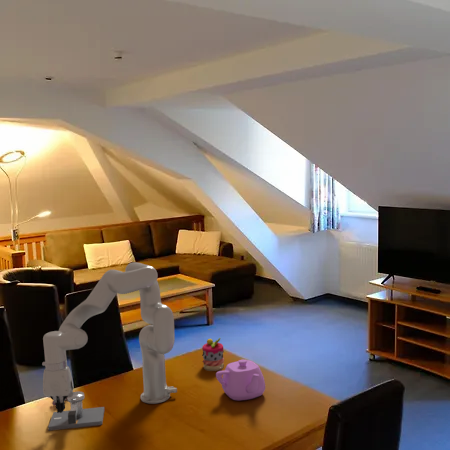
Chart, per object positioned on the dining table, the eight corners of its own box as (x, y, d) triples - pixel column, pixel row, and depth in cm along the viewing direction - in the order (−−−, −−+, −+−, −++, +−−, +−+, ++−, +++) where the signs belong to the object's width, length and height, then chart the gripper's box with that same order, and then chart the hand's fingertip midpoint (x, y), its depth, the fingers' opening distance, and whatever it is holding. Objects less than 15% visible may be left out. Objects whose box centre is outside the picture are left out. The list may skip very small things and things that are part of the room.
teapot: (210, 392, 221) (208, 359, 220) (253, 382, 229) (252, 350, 228) (230, 415, 200) (229, 378, 199) (277, 403, 209) (276, 368, 207)
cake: (200, 371, 245) (199, 341, 243) (205, 362, 255) (204, 333, 253) (222, 371, 243) (221, 341, 241) (225, 363, 253) (224, 334, 252)
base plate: (104, 410, 208) (104, 406, 208) (102, 424, 196) (101, 420, 196) (53, 415, 205) (53, 411, 205) (48, 430, 193) (48, 426, 193)
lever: (69, 412, 203) (68, 392, 202) (86, 411, 204) (84, 390, 203) (63, 434, 186) (62, 412, 185) (81, 432, 187) (80, 410, 186)
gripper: (32, 369, 186) (37, 416, 188) (71, 368, 185) (76, 416, 187) (41, 361, 193) (46, 406, 196) (79, 360, 192) (83, 406, 194)
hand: (60, 411), depth 191 cm, fingers closed
